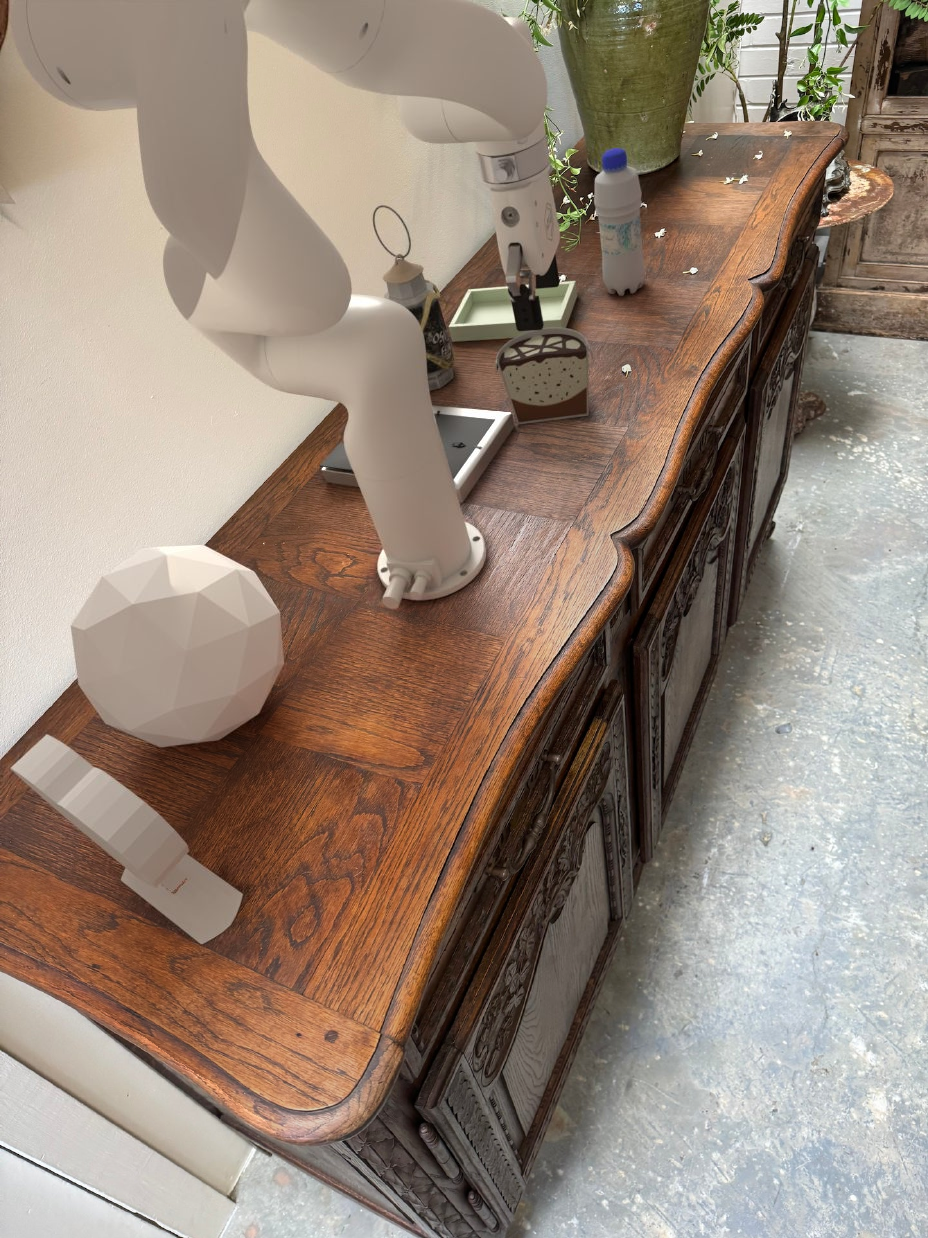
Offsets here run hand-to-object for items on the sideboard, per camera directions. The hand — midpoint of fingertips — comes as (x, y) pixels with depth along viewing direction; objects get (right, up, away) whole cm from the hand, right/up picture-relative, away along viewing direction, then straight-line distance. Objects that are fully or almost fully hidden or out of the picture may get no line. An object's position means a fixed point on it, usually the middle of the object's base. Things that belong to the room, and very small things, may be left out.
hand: (539, 307), depth 102 cm
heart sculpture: (-34, -62, -28) cm, 76 cm away
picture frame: (-15, -16, +9) cm, 24 cm away
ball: (-34, -47, -14) cm, 60 cm away
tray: (-1, +9, +28) cm, 30 cm away
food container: (+3, -10, +10) cm, 14 cm away
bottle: (+16, +13, +27) cm, 34 cm away
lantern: (-14, -3, +21) cm, 26 cm away
